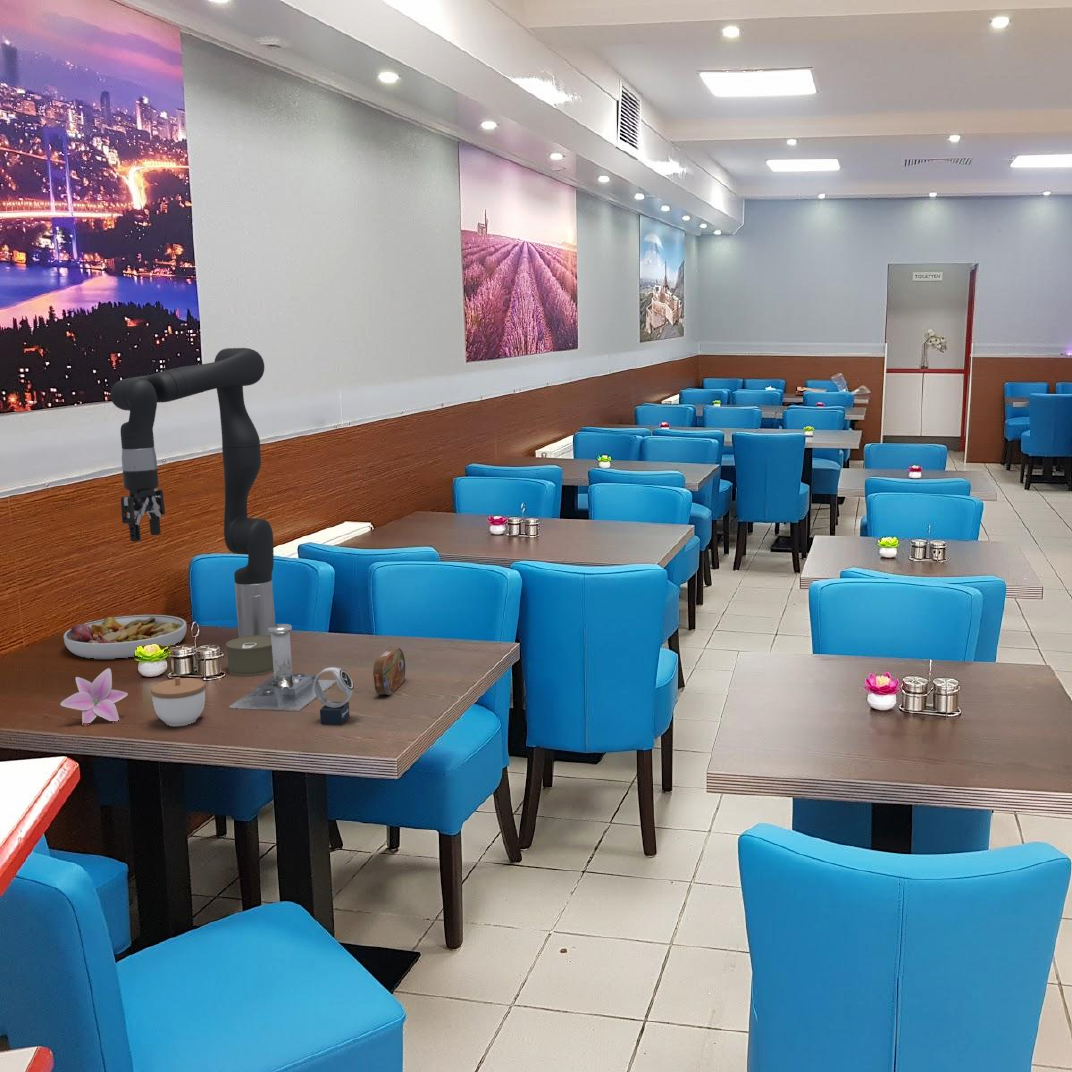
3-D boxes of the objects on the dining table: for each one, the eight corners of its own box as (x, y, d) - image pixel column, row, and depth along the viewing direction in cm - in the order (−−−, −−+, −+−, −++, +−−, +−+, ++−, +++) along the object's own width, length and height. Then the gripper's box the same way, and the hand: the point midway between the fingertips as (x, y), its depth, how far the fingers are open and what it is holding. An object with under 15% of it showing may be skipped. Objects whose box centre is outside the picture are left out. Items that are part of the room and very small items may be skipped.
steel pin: (278, 689, 261) (274, 623, 259) (299, 690, 260) (295, 624, 257) (268, 695, 256) (264, 629, 254) (290, 696, 255) (285, 630, 253)
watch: (350, 725, 237) (347, 672, 235) (312, 724, 238) (309, 672, 236) (358, 716, 242) (356, 665, 240) (321, 715, 243) (318, 664, 241)
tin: (386, 700, 253) (384, 662, 251) (372, 699, 253) (370, 662, 252) (407, 679, 267) (405, 644, 266) (394, 679, 268) (392, 643, 266)
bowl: (161, 626, 324) (159, 599, 323) (206, 647, 301) (204, 617, 300) (49, 647, 306) (46, 617, 305) (88, 670, 283) (85, 639, 282)
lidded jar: (175, 733, 235) (171, 688, 233) (143, 724, 241) (139, 680, 239) (218, 719, 243) (215, 675, 241) (186, 710, 249) (183, 667, 248)
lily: (54, 731, 242) (56, 697, 236) (78, 693, 251) (80, 660, 246) (112, 746, 243) (115, 713, 237) (133, 708, 252) (137, 675, 247)
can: (284, 662, 285) (283, 634, 284) (272, 676, 273) (270, 647, 272) (235, 663, 285) (233, 635, 284) (221, 677, 273) (219, 648, 272)
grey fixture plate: (271, 679, 270) (270, 665, 269) (336, 682, 267) (335, 667, 266) (229, 708, 250) (228, 692, 249) (299, 711, 246) (298, 695, 246)
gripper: (137, 471, 259) (144, 543, 261) (171, 464, 272) (176, 532, 275) (107, 471, 260) (113, 543, 263) (141, 464, 274) (147, 532, 277)
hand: (145, 538), depth 269 cm, fingers open, 8 cm apart
